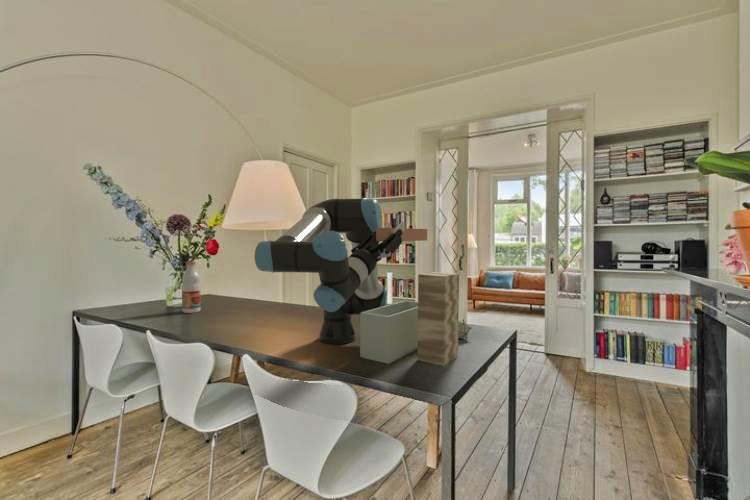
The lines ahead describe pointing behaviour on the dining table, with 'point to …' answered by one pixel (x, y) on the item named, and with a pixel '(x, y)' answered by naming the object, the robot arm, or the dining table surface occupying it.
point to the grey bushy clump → (463, 329)
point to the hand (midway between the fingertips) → (396, 226)
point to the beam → (406, 236)
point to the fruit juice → (191, 289)
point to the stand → (438, 317)
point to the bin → (389, 331)
